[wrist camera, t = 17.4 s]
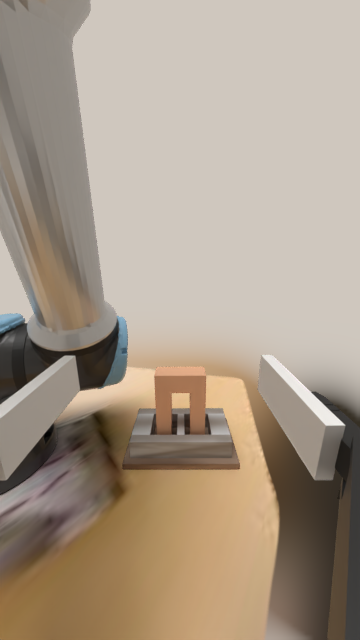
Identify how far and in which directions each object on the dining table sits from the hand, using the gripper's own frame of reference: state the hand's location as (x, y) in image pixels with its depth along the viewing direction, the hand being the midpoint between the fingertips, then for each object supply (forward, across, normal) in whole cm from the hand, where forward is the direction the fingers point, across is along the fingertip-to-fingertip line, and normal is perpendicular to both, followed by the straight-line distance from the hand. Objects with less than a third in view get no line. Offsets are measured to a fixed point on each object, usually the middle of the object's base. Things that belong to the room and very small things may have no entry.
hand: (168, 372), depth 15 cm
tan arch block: (+17, +1, -22) cm, 28 cm away
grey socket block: (+17, +1, -23) cm, 29 cm away
